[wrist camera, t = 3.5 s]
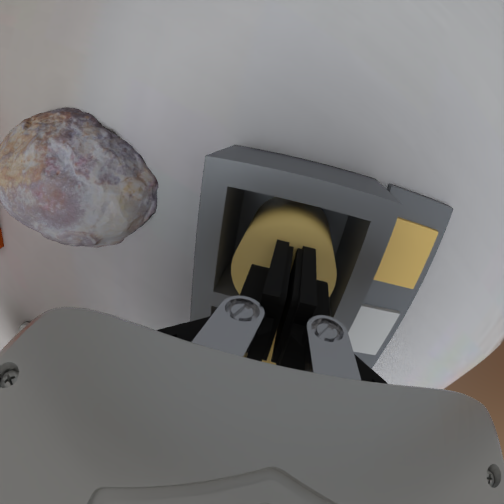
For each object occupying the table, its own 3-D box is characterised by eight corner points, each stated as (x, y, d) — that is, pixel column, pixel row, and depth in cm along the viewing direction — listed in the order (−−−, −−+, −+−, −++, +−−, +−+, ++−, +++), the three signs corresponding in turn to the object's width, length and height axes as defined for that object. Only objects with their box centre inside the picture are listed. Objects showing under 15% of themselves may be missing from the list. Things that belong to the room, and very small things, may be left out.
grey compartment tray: (289, 393, 26) (283, 438, 21) (205, 372, 27) (188, 414, 22) (375, 178, 16) (402, 204, 11) (234, 144, 17) (205, 155, 12)
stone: (185, 193, 25) (175, 122, 15) (132, 291, 22) (83, 268, 13) (62, 141, 25) (27, 83, 15) (14, 216, 22) (-40, 174, 12)
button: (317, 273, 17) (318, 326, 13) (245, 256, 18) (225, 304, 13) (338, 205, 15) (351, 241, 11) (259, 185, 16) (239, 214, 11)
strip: (343, 401, 26) (343, 408, 25) (299, 395, 26) (298, 402, 25) (449, 205, 16) (455, 210, 15) (389, 183, 16) (393, 187, 15)
